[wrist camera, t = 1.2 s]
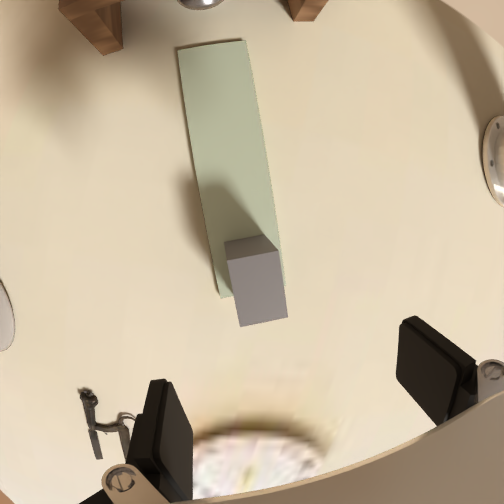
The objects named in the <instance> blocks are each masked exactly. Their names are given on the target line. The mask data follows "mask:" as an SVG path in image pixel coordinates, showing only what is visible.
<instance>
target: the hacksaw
mask: <svg viewBox="0 0 504 504" xmlns="http://www.w3.org/2000/svg"><path fill="white" fill-rule="evenodd" d="M80 399H81V400H82V401H83V405H84V409H85V413H86V417H87V423H88V427H89V429H90V430H91V431H89V435H90V439H91V442H92V446H93V450H94V454H95V457H96V459H103V457H102V453H101V449H100V444H99V440H98V435H97V432H95V431H94V430H99V431H103V432H104V433H105V432H117V431H119V433H120V438H121V443H122V447H123V451H124V455H125V459H126V458H127V454H128V449H129V445H130V435H129V429H128V428H127V427H125V425H124V423H123V420H124V419H132V420H134V421H135V419H134V418H132V417H129V416H123V417H121V418H120V419H119V423H118V424H114V425H112V426H103V425H99V424H96V421H95V409H94V407H95V406H96V405H97V404H98V400H97V397H96V396H95V395H94V394H93V393H90V392H89V391H88V392H87V391H84V392H82V393H81V395H80ZM105 434H106V433H105Z"/></svg>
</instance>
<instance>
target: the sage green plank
mask: <svg viewBox="0 0 504 504" xmlns="http://www.w3.org/2000/svg"><path fill="white" fill-rule="evenodd" d="M177 51H178V59H179V67H180V74H181V81H182V88H183V95H184V102H185V109H186V115H187V122H188V128H189V135H190V141H191V147H192V153H193V159H194V165H195V170H196V176H197V182H198V187H199V193H200V198H201V204H202V209H203V215H204V220H205V225H206V230H207V235H208V240H209V245H210V250H211V255H212V260H213V265H214V270H215V275H216V280H217V284H218V289H219V294H220V298H226V297H231V296H234V299H235V304H236V309H237V314H238V319H239V324H240V327H243V326H248V325H253V324H258V323H263V322H268V321H272V320H277V319H282V318H286V317H288V314H287V306H286V298H285V291H284V286H286V281H285V274H284V266H283V259H282V252H281V245H280V238H279V231H278V224H277V218H276V211H275V204H274V198H273V191H272V185H271V179H270V173H269V166H268V160H267V154H266V148H265V142H264V136H263V130H262V125H261V119H260V113H259V108H258V102H257V96H256V91H255V85H254V80H253V75H252V69H251V64H250V59H249V54H248V49H247V44H246V40H245V41H235V42H226V43H218V44H211V45H205V46H199V47H193V48H187V49H182V50H177Z"/></svg>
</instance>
